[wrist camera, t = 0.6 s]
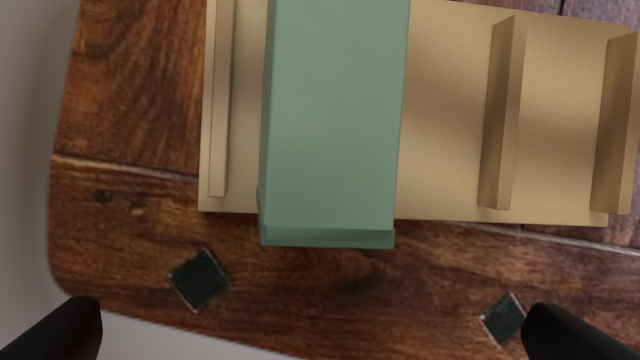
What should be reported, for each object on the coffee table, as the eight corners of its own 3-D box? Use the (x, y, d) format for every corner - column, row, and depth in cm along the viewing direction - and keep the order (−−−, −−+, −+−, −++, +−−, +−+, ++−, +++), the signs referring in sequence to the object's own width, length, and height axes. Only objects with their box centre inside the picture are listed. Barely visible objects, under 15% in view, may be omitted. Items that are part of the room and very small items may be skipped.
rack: (597, 224, 26) (638, 234, 23) (199, 209, 22) (191, 218, 19) (618, 28, 25) (664, 13, 22) (209, -26, 21) (203, -52, 18)
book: (324, 199, 22) (394, 250, 11) (255, 196, 21) (260, 246, 11) (337, 5, 21) (425, -142, 10) (266, -4, 21) (283, -169, 10)
